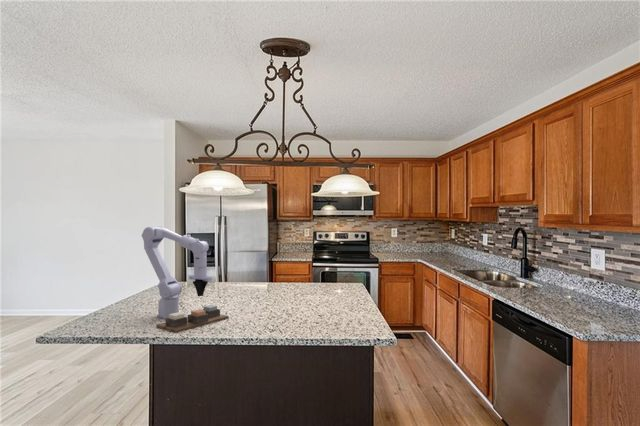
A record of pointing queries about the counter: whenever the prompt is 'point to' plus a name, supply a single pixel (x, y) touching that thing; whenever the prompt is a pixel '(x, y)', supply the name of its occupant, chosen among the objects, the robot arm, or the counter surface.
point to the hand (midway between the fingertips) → (200, 295)
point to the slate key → (210, 308)
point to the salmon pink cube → (198, 312)
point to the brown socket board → (192, 321)
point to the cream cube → (176, 316)
